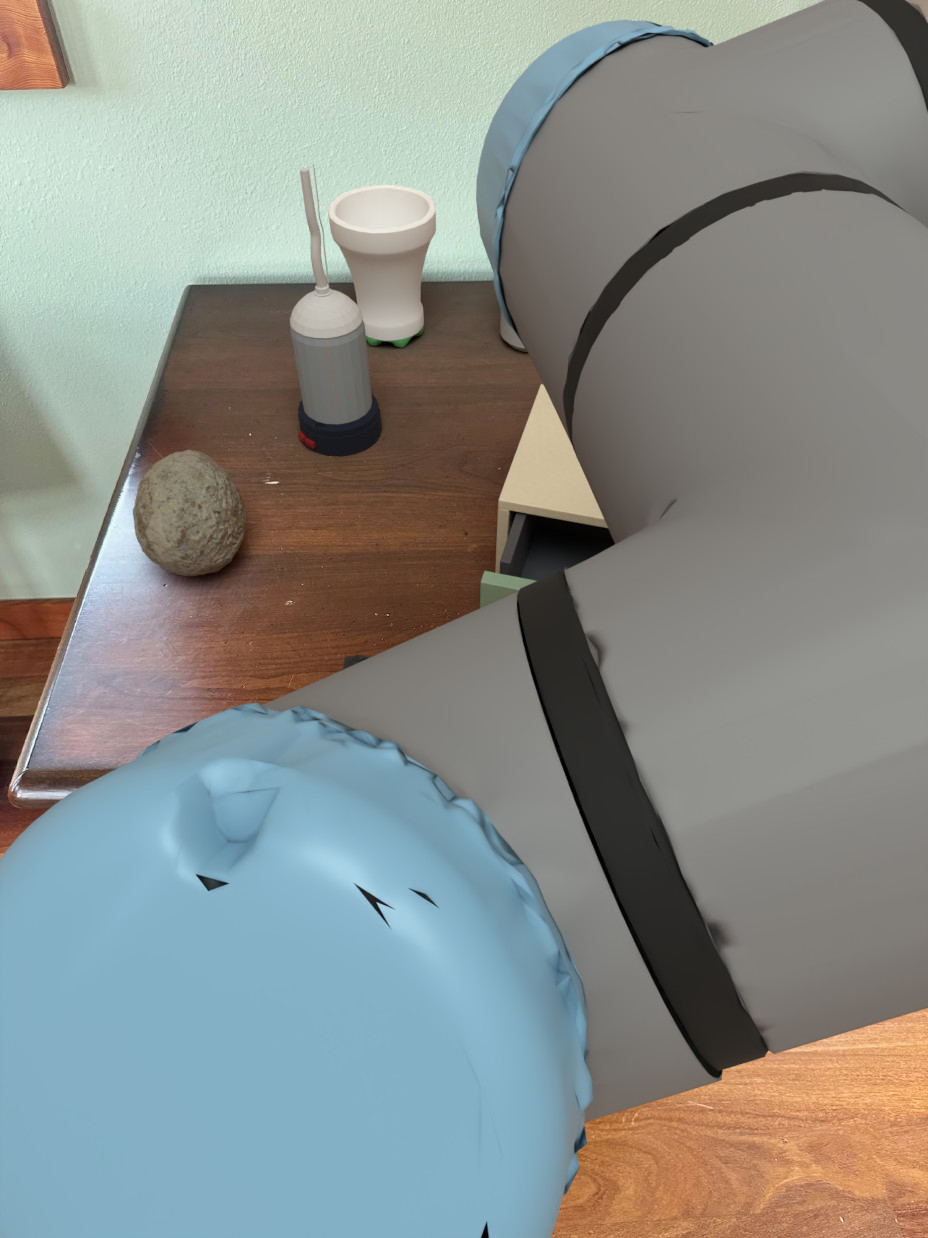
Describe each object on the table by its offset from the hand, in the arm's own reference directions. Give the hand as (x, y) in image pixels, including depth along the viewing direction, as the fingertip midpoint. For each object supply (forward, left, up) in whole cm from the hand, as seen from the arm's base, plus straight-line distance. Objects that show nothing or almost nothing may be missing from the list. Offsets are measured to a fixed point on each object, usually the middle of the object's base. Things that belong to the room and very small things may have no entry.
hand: (540, 671), depth 46 cm
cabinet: (0, -27, -15) cm, 30 cm away
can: (+12, -58, -15) cm, 61 cm away
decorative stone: (+32, -16, -15) cm, 38 cm away
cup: (+28, -55, -15) cm, 63 cm away
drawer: (0, -16, -14) cm, 21 cm away
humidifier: (+27, -36, -15) cm, 47 cm away
